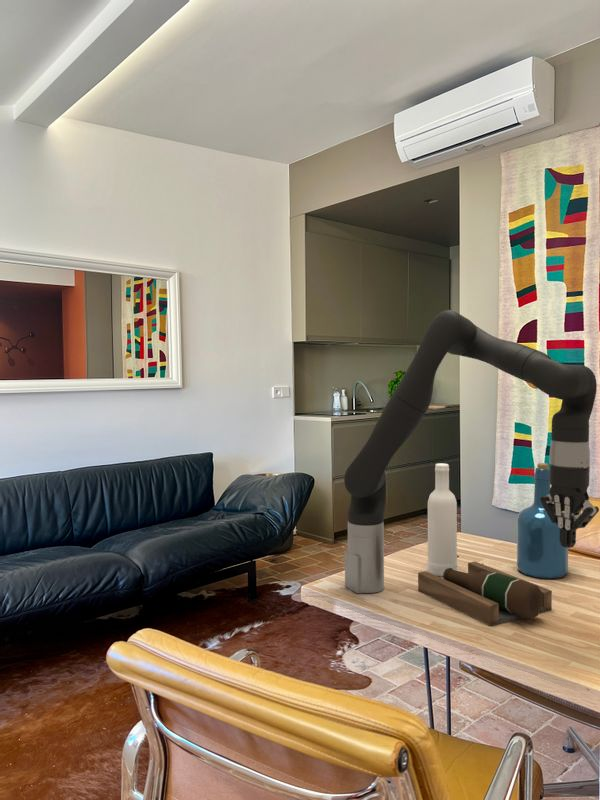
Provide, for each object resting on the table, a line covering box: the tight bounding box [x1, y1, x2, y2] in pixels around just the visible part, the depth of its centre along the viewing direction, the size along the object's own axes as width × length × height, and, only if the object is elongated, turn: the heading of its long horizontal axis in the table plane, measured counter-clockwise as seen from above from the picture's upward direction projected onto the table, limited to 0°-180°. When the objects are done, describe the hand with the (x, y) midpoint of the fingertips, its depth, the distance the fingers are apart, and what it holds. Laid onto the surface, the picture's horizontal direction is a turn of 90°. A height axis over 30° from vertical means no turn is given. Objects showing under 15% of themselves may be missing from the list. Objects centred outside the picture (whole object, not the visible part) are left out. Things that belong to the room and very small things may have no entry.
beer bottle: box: [442, 568, 543, 620], centre depth 144 cm, size 8×8×24 cm
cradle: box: [417, 561, 553, 627], centre depth 148 cm, size 19×25×4 cm
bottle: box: [427, 462, 458, 577], centre depth 168 cm, size 8×8×30 cm
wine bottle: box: [516, 462, 569, 579], centre depth 168 cm, size 14×13×30 cm
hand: (567, 546), depth 126 cm, fingers closed
